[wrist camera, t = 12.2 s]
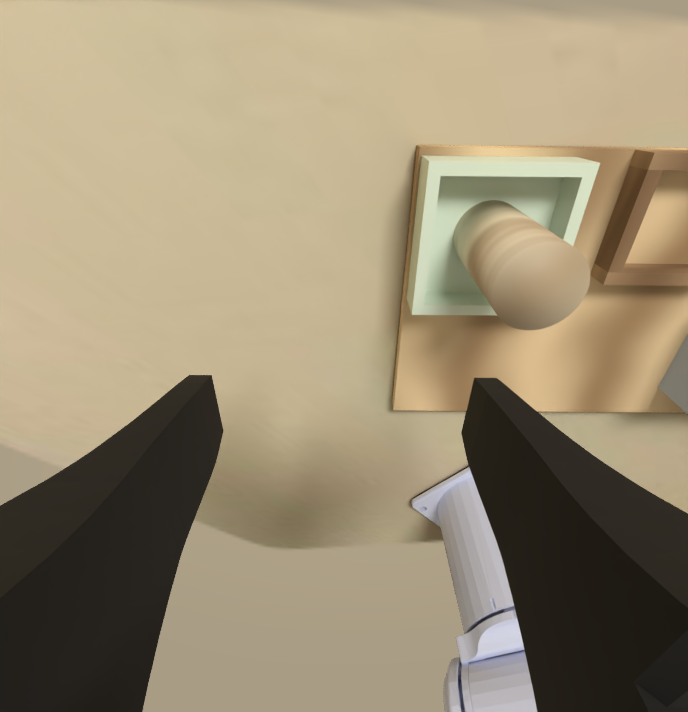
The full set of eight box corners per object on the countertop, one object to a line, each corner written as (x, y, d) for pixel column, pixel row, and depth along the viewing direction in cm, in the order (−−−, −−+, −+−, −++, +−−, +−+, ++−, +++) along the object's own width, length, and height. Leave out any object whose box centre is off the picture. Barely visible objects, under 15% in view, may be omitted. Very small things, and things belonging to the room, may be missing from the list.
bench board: (1003, 151, 17) (1076, 157, 15) (796, 405, 25) (830, 427, 23) (416, 145, 17) (424, 150, 15) (392, 401, 24) (395, 423, 23)
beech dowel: (535, 235, 18) (607, 289, 13) (478, 280, 19) (524, 346, 14) (497, 184, 17) (559, 220, 11) (439, 235, 18) (473, 288, 13)
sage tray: (576, 156, 16) (600, 163, 15) (534, 299, 20) (550, 315, 18) (421, 155, 16) (429, 161, 15) (406, 298, 20) (411, 314, 18)
